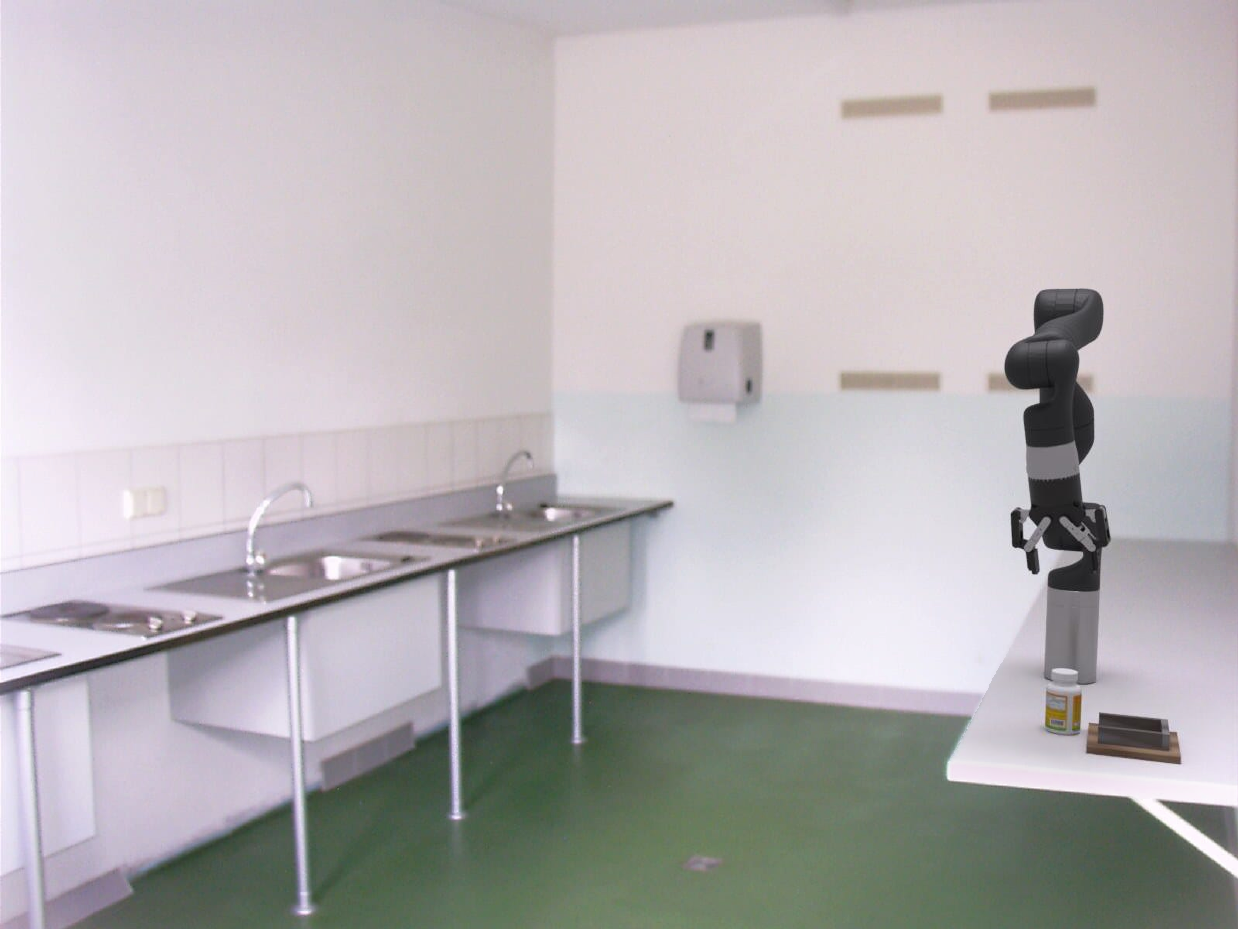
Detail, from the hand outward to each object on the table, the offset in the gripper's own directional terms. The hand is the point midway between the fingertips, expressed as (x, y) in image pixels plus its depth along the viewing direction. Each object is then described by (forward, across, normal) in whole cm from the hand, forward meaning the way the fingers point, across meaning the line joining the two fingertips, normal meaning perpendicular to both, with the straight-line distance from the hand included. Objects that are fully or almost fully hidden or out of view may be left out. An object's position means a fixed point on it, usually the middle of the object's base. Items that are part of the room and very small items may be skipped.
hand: (1064, 573), depth 195 cm
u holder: (+27, -7, +1) cm, 28 cm away
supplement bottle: (+27, +3, -1) cm, 27 cm away
